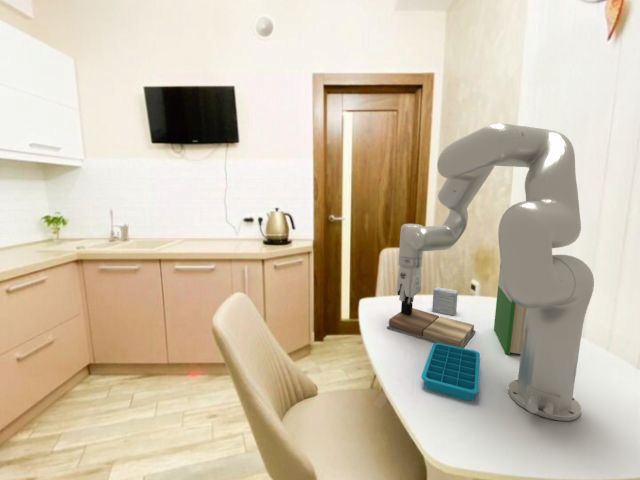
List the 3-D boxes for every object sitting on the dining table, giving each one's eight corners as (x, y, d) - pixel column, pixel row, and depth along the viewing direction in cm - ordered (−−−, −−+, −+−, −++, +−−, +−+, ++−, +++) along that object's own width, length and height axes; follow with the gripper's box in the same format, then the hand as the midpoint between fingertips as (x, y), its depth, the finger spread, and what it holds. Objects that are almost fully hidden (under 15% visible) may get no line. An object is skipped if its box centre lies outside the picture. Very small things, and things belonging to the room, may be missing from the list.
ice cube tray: (419, 390, 71) (420, 378, 70) (432, 351, 88) (433, 341, 88) (477, 407, 65) (478, 394, 65) (479, 362, 83) (480, 351, 83)
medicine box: (456, 312, 117) (458, 290, 116) (454, 316, 114) (456, 293, 112) (434, 308, 122) (436, 286, 120) (431, 311, 118) (433, 289, 117)
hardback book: (537, 360, 84) (547, 272, 81) (505, 355, 86) (514, 270, 83) (519, 333, 101) (528, 259, 97) (493, 329, 103) (500, 257, 100)
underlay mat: (461, 351, 88) (461, 349, 88) (386, 328, 102) (386, 326, 102) (475, 332, 100) (475, 330, 100) (407, 314, 115) (407, 312, 115)
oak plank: (460, 348, 89) (460, 341, 88) (422, 336, 95) (423, 330, 95) (473, 330, 100) (474, 324, 100) (439, 321, 107) (440, 316, 107)
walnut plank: (421, 336, 96) (422, 330, 95) (388, 324, 102) (389, 319, 102) (438, 321, 107) (439, 315, 107) (407, 311, 114) (408, 306, 114)
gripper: (411, 267, 96) (407, 323, 99) (429, 259, 108) (425, 310, 111) (389, 263, 101) (386, 317, 104) (408, 256, 112) (405, 304, 115)
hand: (406, 313), depth 107 cm, fingers closed
